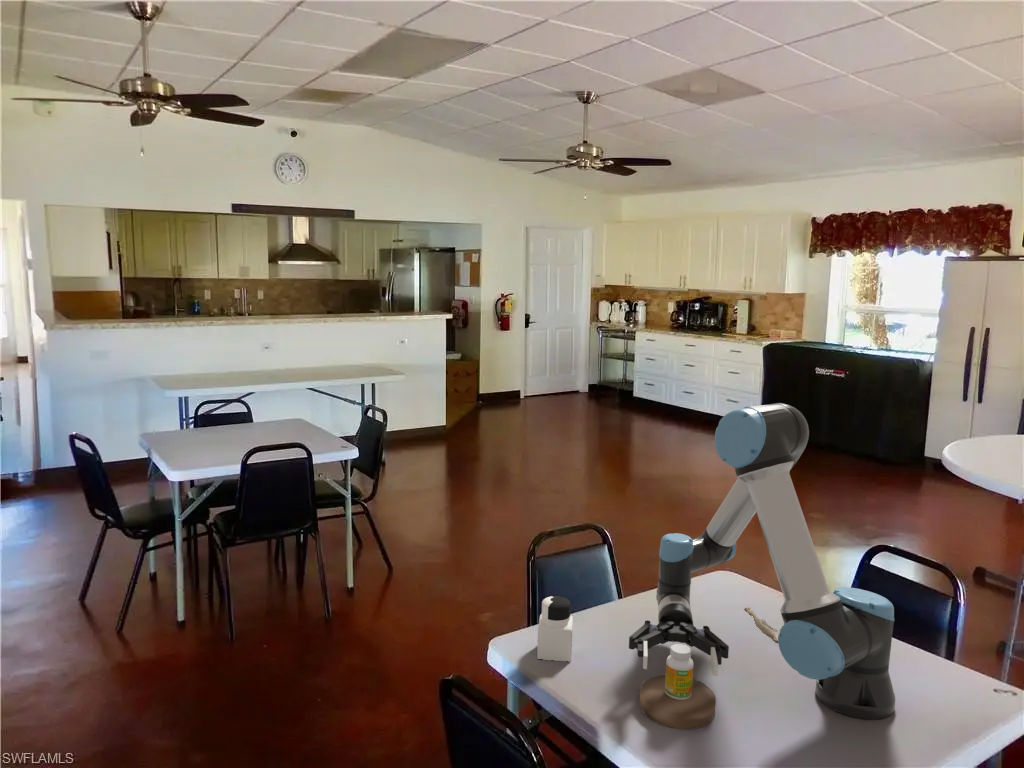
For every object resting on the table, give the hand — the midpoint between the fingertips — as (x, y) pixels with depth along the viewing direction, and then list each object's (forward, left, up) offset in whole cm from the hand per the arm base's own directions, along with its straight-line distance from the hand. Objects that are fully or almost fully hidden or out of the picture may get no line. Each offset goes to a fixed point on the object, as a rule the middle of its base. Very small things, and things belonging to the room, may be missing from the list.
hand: (680, 666), depth 151 cm
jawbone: (+13, -51, -11) cm, 54 cm away
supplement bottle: (+2, -2, -8) cm, 8 cm away
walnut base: (+2, -2, -10) cm, 11 cm away
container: (+33, +5, -11) cm, 35 cm away
